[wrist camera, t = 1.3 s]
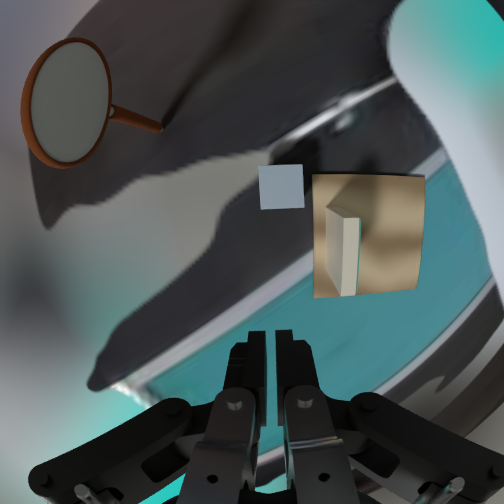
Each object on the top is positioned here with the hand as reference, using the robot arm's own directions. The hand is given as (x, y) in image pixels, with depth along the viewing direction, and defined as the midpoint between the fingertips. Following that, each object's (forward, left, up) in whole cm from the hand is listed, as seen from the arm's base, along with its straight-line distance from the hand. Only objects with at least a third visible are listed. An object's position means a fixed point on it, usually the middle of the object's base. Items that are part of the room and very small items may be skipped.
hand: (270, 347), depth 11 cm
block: (-6, +2, -19) cm, 20 cm away
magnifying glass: (-14, -11, -19) cm, 26 cm away
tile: (0, +7, -19) cm, 20 cm away
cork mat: (0, +12, -19) cm, 22 cm away
